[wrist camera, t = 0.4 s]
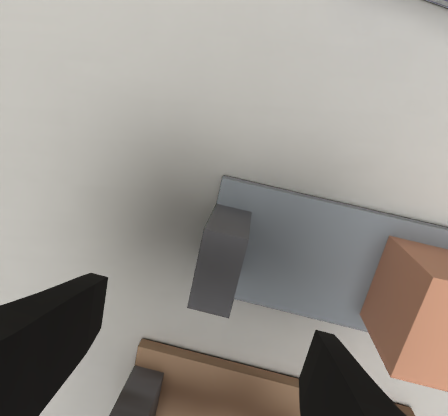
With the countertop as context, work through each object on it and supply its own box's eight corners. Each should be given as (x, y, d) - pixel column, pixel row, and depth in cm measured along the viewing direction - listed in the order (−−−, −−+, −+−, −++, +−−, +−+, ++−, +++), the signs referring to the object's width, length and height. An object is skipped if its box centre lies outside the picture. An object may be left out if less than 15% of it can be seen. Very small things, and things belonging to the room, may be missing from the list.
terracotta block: (445, 335, 20) (504, 406, 15) (359, 314, 20) (390, 377, 15) (482, 257, 18) (559, 307, 14) (389, 235, 19) (433, 277, 14)
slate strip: (490, 355, 21) (563, 432, 16) (200, 283, 22) (181, 334, 17) (545, 250, 19) (648, 299, 14) (223, 175, 20) (210, 196, 15)
